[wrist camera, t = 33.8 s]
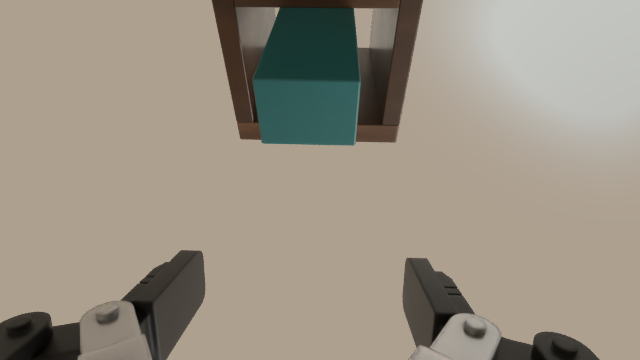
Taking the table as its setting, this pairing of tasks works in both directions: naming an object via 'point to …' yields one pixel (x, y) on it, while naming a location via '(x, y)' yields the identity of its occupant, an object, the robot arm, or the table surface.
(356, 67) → the pencil case
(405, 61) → the shelf
